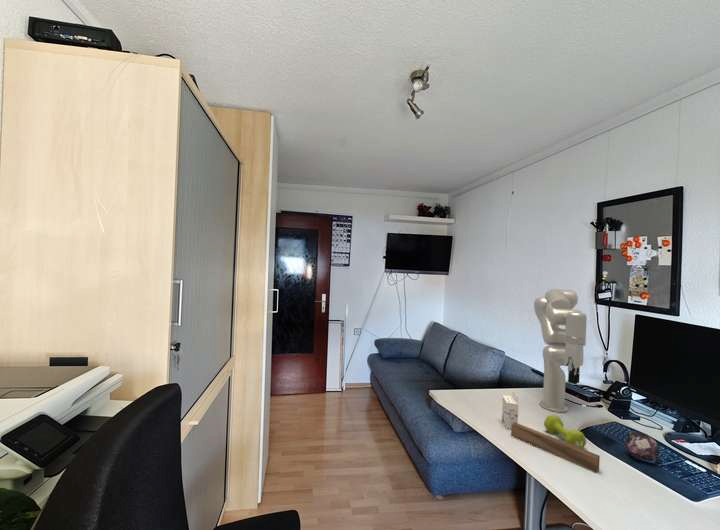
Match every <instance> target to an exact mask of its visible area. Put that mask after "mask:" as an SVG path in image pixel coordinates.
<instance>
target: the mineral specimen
mask: <svg viewBox="0 0 720 530" xmlns="http://www.w3.org/2000/svg"><path fill="white" fill-rule="evenodd" d="M624 448H625V450H626V451H627V452H628V453H629V454H630V455H631V454H632V455H633V456H635V457H637V458H640V459H644V460H647V461H653V462H654V463H656V460H657V458H658V457H659V455H660V453H661V450H660V446H659V444H658V443H657V441H656V440H655V439H654V438H652V437H651V436H650V435H648V434H647V433H643V432H640V431H637V430H631V431H630V432H629V433H628V435H627V437H626V438H625V441H624ZM632 455H631V456H632ZM633 456H632V457H633ZM635 457H634V458H635Z"/></svg>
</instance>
